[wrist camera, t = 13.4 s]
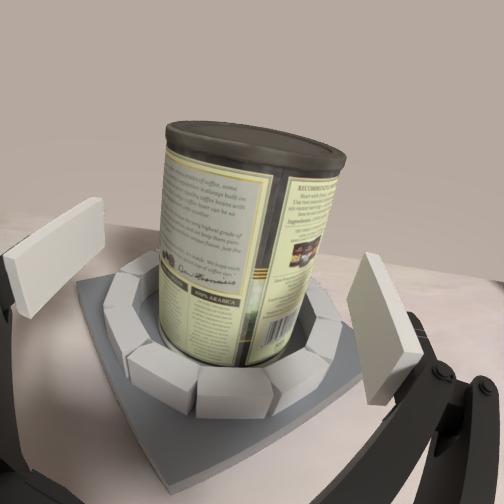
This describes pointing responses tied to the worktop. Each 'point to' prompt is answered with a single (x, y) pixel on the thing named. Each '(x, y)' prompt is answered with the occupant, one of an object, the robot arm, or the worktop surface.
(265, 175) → the coffee can
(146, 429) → the housing
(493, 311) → the worktop surface
